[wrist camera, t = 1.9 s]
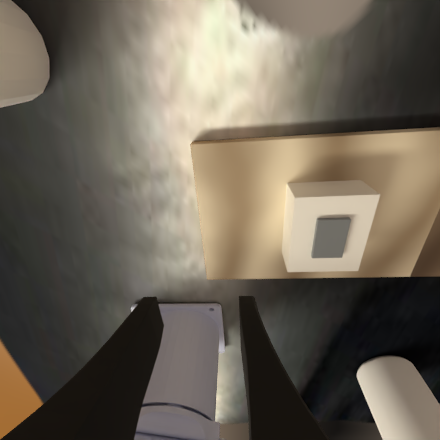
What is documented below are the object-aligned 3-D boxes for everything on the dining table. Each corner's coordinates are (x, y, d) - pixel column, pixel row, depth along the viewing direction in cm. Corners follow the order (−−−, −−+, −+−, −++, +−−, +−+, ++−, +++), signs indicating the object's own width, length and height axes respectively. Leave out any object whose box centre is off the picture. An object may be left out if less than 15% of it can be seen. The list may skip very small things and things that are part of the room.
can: (398, 346, 27) (505, 514, 16) (421, 371, 29) (527, 534, 18) (345, 366, 29) (408, 524, 19) (369, 388, 31) (438, 541, 21)
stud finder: (281, 251, 20) (288, 275, 17) (286, 183, 17) (296, 199, 14) (344, 250, 19) (360, 273, 17) (360, 179, 16) (383, 196, 14)
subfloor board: (208, 272, 22) (207, 279, 22) (192, 141, 17) (190, 144, 16) (506, 267, 20) (518, 275, 20) (608, 117, 15) (632, 119, 14)
